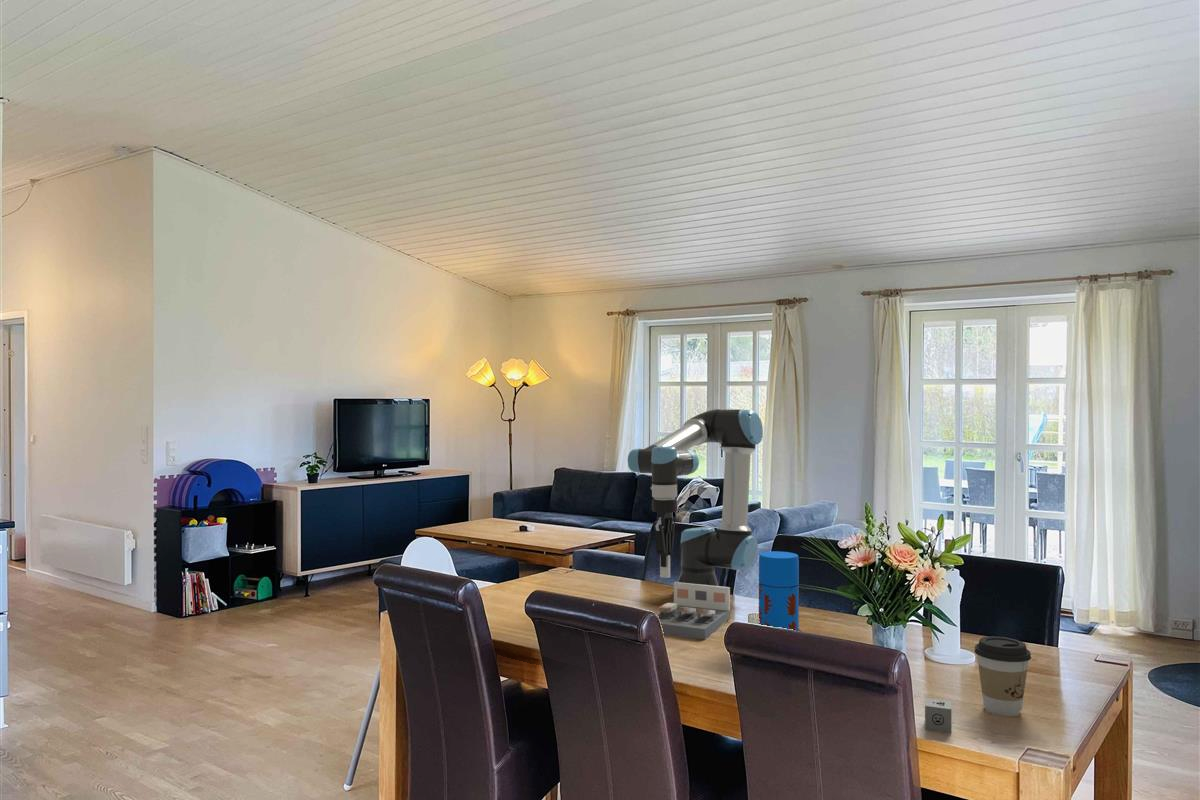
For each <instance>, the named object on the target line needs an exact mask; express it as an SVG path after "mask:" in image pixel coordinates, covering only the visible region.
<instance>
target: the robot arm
mask: <svg viewBox="0 0 1200 800" xmlns="http://www.w3.org/2000/svg"><path fill="white" fill-rule="evenodd" d="M763 430H764V428H763V422H762V420H761V418H760V415H759V414H758V413H757V412H756V411H754V410H751V409H744V408H743V409H742V408H741V409H740V408H739V409H738V408H737V409H718V408H717V409H709V410H707V411H704V412H701V413H699V414H697V415H694V416H693V417H691V418H689V419H688V420H686V421H684V423H683V425H682V426H681V427H680V428H678V429H676V430H675V431H673V432H671V433H670V434H668V435H666V436H665V437H663V438H661V439H659V440H657V441H656V442H654V443H652V444H651V445H649V446H647V447H645V448H634V449H631V451H629V453H628V456H627V466H628V468H629V470H630V471H631V472H633V473H637V474H651V486H650V490H651V497H652V500H651V511H652V512H653V513H656V520H655V521H656V522H655V523H656V524H655V523H653V525H652V528H653V531H654V540H655V549H656V556H659V578H664V579H665V578H666V579H669V578H671V556H673V555H674V542H675V541H674V539H675V529H676V528H675V526H676V522H677V519H676V518H673V513H676V512H677V511H678V499H677V498H678V480H677V479H678V477H680V476H689V475H690V474H693V473H694V472H696V471H697V470H698V468H699V465H700V461H699V457H698V455H697V454H696V453H695V452H694V451H693V450H690V449H691V448H693V447H694V446H701V445H703V444H706V443H718V444H720V448H721V450H722V451H723V452H724V470H723V471H724V472H723V491H722V492H723V493H722V509H721V510H722V512H721V513H722V514H721V523H720V524H719V525H717V528H716V530H715V528H714V527H713V526H703V527H701V526H700V527H692V528H686V529H684V530H683V531H681V537H680V542H679V544H680V574H679V577H678V580H677V582H681V583H691V584H701V585H711V586H720V585H719V583H718V580H717V576H716V574H715V568H721V569H722V568H724V569H730V570H734V571H738V570H740V571H745V570H749V568H751V567H752V566H753V564H754V562H755V561H756V558H757V556H758V555H757V554H758V548H759V546H758V540H757V537H755V536H753V535H752V529H751V528H750V527H749V526H748V525H749V524H748V517H749V497H750V496H749V494H750V472H751V455H752V453H754V452H755V451H756V445H758V444H760V443H761V442H762V438H763V435H764V431H763Z"/></svg>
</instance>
